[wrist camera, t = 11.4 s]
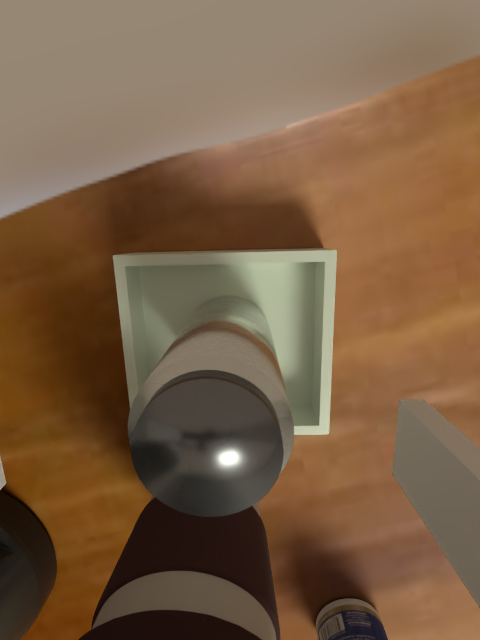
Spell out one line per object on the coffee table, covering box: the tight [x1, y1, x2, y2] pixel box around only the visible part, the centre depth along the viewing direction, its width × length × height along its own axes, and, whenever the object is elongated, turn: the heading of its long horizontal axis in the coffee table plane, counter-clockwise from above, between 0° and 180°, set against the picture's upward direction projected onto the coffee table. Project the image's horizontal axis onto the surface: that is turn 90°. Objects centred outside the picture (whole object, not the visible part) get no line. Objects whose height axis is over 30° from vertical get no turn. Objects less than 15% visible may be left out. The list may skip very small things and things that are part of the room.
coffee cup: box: [78, 495, 280, 640], centre depth 18 cm, size 10×10×15 cm
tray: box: [113, 248, 337, 435], centre depth 21 cm, size 12×11×3 cm
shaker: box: [128, 295, 294, 517], centre depth 16 cm, size 6×6×12 cm
